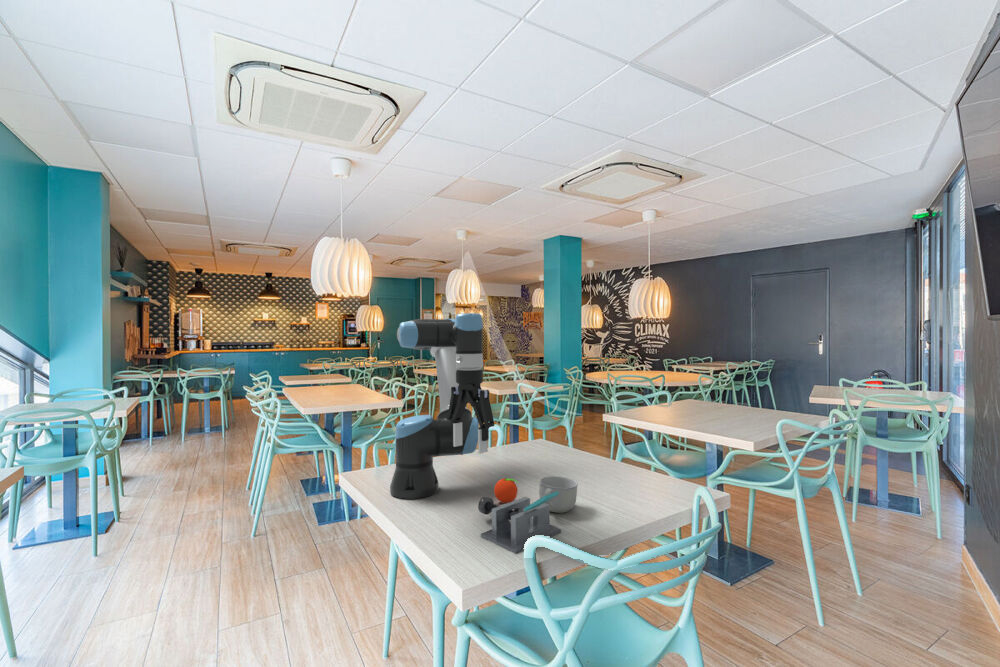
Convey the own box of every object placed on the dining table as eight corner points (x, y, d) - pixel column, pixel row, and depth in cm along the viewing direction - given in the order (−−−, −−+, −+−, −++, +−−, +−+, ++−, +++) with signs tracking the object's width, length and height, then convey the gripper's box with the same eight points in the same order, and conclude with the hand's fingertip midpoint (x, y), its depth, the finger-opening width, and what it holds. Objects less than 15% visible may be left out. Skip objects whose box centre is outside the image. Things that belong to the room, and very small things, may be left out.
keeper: (523, 512, 109) (522, 509, 109) (536, 507, 112) (535, 504, 113) (545, 499, 104) (544, 496, 104) (559, 493, 107) (557, 491, 108)
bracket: (480, 536, 112) (480, 509, 112) (525, 518, 123) (525, 493, 123) (515, 553, 103) (515, 523, 103) (560, 532, 114) (560, 504, 114)
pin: (478, 515, 121) (478, 498, 121) (490, 510, 124) (490, 494, 124) (513, 530, 112) (513, 512, 112) (526, 524, 115) (525, 507, 115)
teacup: (552, 499, 137) (552, 472, 137) (584, 507, 130) (584, 479, 130) (525, 513, 126) (524, 484, 126) (558, 523, 119) (558, 492, 119)
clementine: (520, 497, 139) (520, 474, 139) (522, 506, 132) (522, 481, 132) (493, 498, 138) (493, 474, 138) (494, 507, 131) (494, 482, 131)
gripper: (434, 367, 133) (435, 444, 133) (486, 371, 117) (487, 459, 116) (454, 366, 138) (455, 440, 138) (507, 370, 122) (508, 453, 122)
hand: (470, 449), depth 127 cm, fingers open, 10 cm apart
